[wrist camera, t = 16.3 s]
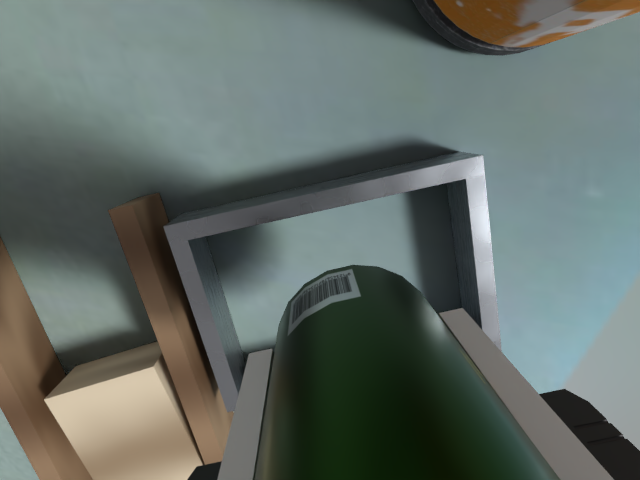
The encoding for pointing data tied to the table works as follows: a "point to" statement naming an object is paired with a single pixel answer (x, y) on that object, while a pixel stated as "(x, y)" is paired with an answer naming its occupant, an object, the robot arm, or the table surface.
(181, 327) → the beam
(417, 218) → the table surface
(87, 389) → the block
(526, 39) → the canister
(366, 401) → the beer can
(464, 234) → the frame
